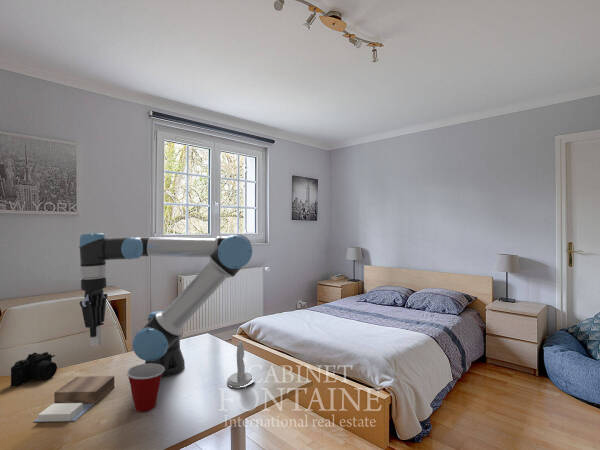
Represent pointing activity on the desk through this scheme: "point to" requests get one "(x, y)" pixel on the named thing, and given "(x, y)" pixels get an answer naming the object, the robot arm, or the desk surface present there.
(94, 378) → the brown wooden flat block
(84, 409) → the mat
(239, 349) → the grey stemmed stand
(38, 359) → the film camera
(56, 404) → the white rectangular block
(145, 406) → the plastic cup
